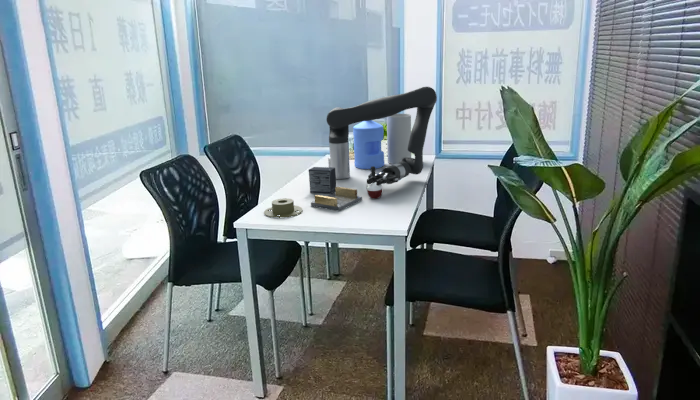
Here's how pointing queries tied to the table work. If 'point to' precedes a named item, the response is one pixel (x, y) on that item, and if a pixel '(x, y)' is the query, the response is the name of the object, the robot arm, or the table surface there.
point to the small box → (322, 180)
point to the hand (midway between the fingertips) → (372, 182)
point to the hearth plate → (337, 199)
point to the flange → (283, 208)
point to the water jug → (368, 145)
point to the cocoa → (374, 187)
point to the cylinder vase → (398, 137)
